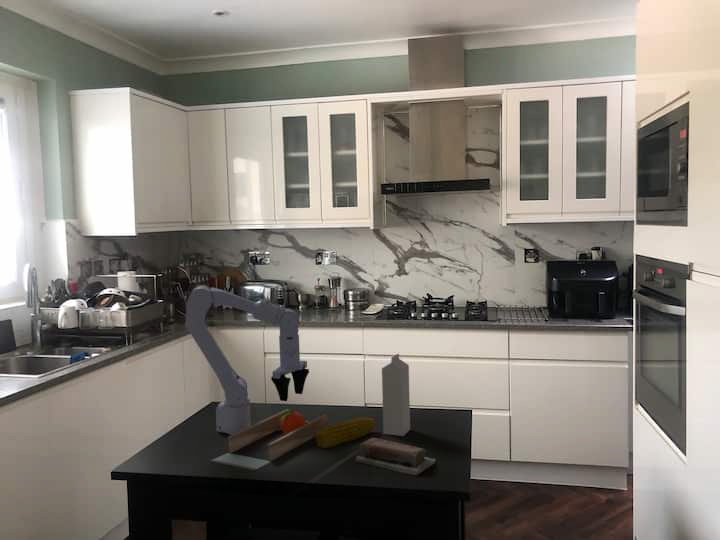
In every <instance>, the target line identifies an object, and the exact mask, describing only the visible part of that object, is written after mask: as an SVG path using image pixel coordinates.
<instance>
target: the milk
mask: <svg viewBox="0 0 720 540" xmlns="http://www.w3.org/2000/svg"><path fill="white" fill-rule="evenodd" d="M390 361H391V362H390V363H388V364H387V365H385V366H383V367H382V368H381V383H382V384H381V387H382V419H383V421H382V424H383V427H382V428H383V434H384V435H388V436H389V435H390V436H399V437H404V436H405V435H406V434H407V433H408V432H409V431H410V430H411V411H410V410H411V409H410V408H411V406H410V370H409V369H410V368H409V366H410V365H409V364H408V363H407V362H405V361H403V360H402V359H400V353H396V354H395V355H393V356H392V357H391V360H390Z"/></svg>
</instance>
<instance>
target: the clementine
mask: <svg viewBox="0 0 720 540" xmlns="http://www.w3.org/2000/svg"><path fill="white" fill-rule="evenodd" d="M282 418H283V419H282ZM282 418H281V419H282V421H281V419H280V421H281V429H282V433H283V434H284V436H285V435H286V434H288V433H290V432H292V431H294V430H296V429H298V428H300V427H302V426H303V425H305V424H306V423H305V421H306V420H305V418H304V416H303V415H302V414H301V413H299V412H296V411H290V413H287V414H285V415H284V416H283V417H282ZM280 421H279V422H280ZM278 425H279V424H278Z"/></svg>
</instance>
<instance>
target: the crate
mask: <svg viewBox="0 0 720 540" xmlns="http://www.w3.org/2000/svg"><path fill="white" fill-rule="evenodd" d="M290 412H291V409H289V408H285V410H281V411H280V412H277V413H275V414H273V415H272V416H269V417H267V418H265V419H263V420H261V421H258V422H257V423H254V424H252V425H251V426H250V427H248V428H246V429H244V430H242V431H240V432H237V433H235V434H233V435H230V436H227V444H228V453H231V454H234V453H235V452H236V451H238V450H240V449H242V448H245V447H246V446H248V445H250V444H252V443H254V442H256V441H258V440H261V439H262V438H264V437H266V436H268V435H270V434H272V433H274V432H276V431H280V430H282V429H281V421H282V419H283V418H282V417H283V416H284V415H285V414H287V413H290ZM281 418H282V419H281ZM280 419H281V421H280ZM279 421H280V422H279ZM328 422H329V421H328V414H324V413H323V414H322V415H320V416H318V417H317V418H315V419H313V420H311V421H308V420H305V423H306V424H305V425H303V426H302V427H300V428H298V429H296V430H294V431H292V432H290V433H288V434H286V435H285V434H284V435H283V436H281V437H279V438H277V439H276V440H275V439H274V441H272V442H269V443H268V444H267V450H268V452H267V453H268V461H271V462H272V461H275V460H276V459H279V458H280V457H282V456H284V455H285V454H288V452H290V451H292V450H293V449H295V448H297V447H299V446H301V445H303V444H305V443H307V442H308V441H310V440H311V439H314V438H316V434H317V433H318V431H320V430H321V429H323V428H325V427H328V426H329V425H328ZM278 424H279V425H278Z"/></svg>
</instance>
